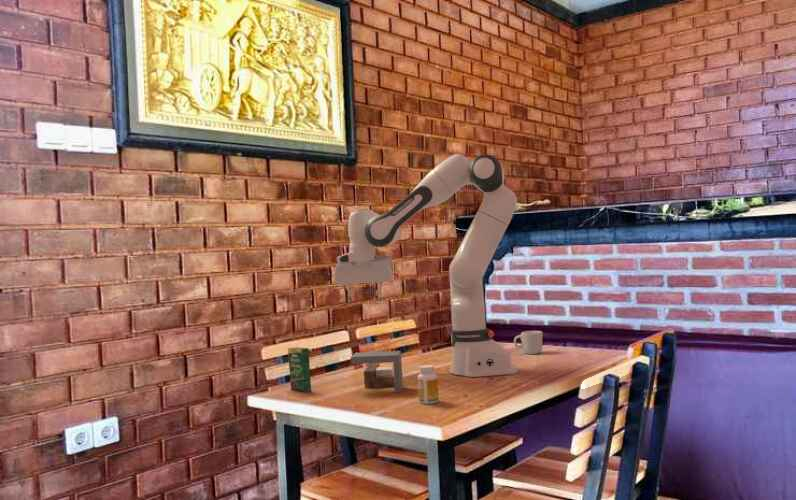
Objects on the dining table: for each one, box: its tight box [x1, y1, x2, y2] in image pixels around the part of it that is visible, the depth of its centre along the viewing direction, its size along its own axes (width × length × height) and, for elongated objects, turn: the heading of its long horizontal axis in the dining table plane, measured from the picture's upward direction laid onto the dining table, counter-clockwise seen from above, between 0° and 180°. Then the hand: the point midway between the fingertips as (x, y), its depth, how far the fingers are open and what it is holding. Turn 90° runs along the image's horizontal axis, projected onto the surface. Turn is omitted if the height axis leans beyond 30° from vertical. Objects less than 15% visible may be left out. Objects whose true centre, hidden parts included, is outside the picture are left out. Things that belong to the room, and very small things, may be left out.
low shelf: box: [350, 350, 404, 394], centre depth 193 cm, size 14×8×11 cm, turn 84°
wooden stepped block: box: [363, 363, 395, 389], centre depth 206 cm, size 9×16×5 cm, turn 175°
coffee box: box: [287, 346, 312, 393], centre depth 201 cm, size 8×3×13 cm, turn 42°
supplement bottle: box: [417, 364, 440, 405], centre depth 176 cm, size 5×5×10 cm
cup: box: [513, 330, 544, 355], centre depth 244 cm, size 11×8×8 cm
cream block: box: [376, 366, 394, 376], centre depth 203 cm, size 5×5×5 cm
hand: (364, 296), depth 224 cm, fingers open, 8 cm apart
